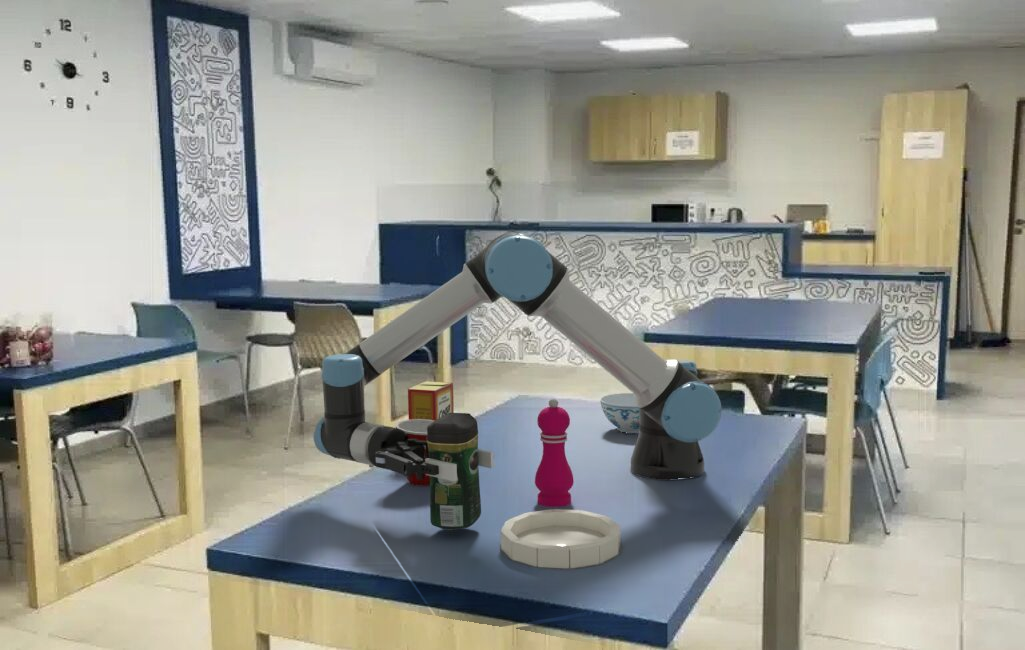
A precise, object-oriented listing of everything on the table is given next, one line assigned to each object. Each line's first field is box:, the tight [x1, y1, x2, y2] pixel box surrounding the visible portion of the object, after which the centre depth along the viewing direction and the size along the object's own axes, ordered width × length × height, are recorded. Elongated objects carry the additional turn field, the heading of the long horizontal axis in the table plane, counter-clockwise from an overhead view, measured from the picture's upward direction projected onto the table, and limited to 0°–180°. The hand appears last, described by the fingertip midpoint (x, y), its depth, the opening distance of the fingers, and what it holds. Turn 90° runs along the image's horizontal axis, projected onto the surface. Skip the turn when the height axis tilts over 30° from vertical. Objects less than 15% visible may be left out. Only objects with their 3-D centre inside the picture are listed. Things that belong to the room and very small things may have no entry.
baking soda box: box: [407, 380, 455, 421], centre depth 218 cm, size 10×6×16 cm
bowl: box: [500, 508, 621, 570], centre depth 160 cm, size 19×19×3 cm
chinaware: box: [599, 392, 639, 434], centre depth 238 cm, size 15×15×8 cm
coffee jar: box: [427, 412, 482, 531], centre depth 166 cm, size 10×8×19 cm
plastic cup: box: [395, 419, 434, 487], centre depth 198 cm, size 11×11×12 cm
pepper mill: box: [534, 398, 575, 508], centre depth 182 cm, size 7×7×20 cm
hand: (474, 466), depth 163 cm, fingers closed on coffee jar, 8 cm apart
